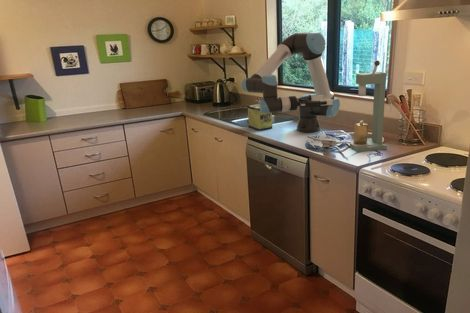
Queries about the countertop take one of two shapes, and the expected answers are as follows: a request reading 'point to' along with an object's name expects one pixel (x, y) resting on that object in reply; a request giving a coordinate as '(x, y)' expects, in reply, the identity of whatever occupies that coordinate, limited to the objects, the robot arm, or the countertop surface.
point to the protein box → (259, 118)
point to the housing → (360, 133)
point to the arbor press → (378, 108)
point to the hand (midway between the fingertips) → (327, 99)
